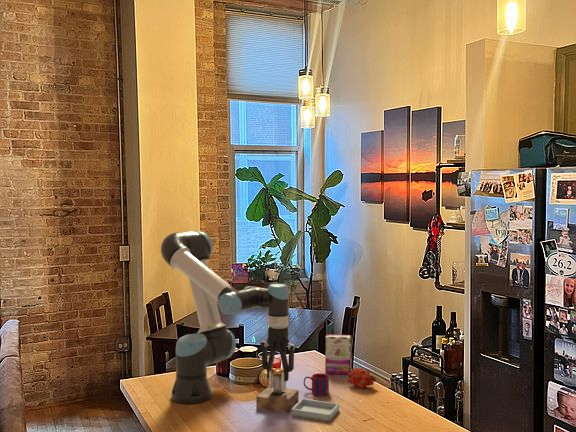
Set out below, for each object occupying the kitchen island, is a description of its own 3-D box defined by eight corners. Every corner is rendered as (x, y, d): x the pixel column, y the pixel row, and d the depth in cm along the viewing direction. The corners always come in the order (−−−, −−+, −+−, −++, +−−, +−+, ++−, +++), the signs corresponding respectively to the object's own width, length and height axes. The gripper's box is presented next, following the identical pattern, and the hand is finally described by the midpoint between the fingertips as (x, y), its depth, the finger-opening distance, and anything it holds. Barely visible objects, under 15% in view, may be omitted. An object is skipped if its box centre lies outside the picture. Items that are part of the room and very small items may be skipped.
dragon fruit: (345, 388, 238) (373, 396, 234) (342, 381, 231) (371, 390, 227) (351, 368, 242) (379, 376, 238) (348, 361, 235) (377, 369, 231)
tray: (291, 415, 204) (291, 409, 204) (302, 404, 215) (302, 398, 215) (329, 422, 199) (329, 414, 199) (338, 410, 210) (338, 403, 210)
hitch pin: (269, 405, 213) (269, 371, 213) (274, 401, 218) (274, 367, 217) (280, 407, 212) (281, 372, 211) (285, 403, 216) (285, 369, 215)
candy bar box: (351, 371, 254) (351, 335, 254) (350, 375, 249) (351, 337, 249) (326, 370, 256) (326, 333, 255) (324, 373, 251) (325, 336, 250)
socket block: (256, 408, 211) (256, 396, 211) (269, 397, 222) (269, 385, 222) (286, 413, 207) (286, 400, 207) (298, 401, 218) (298, 390, 218)
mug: (327, 396, 224) (327, 379, 223) (302, 394, 226) (302, 377, 226) (330, 390, 230) (330, 374, 230) (305, 388, 232) (305, 372, 232)
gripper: (252, 326, 213) (252, 388, 214) (296, 330, 207) (295, 395, 208) (260, 321, 220) (260, 382, 221) (303, 326, 214) (303, 388, 215)
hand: (277, 388), depth 214 cm, fingers closed on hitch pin, 4 cm apart
